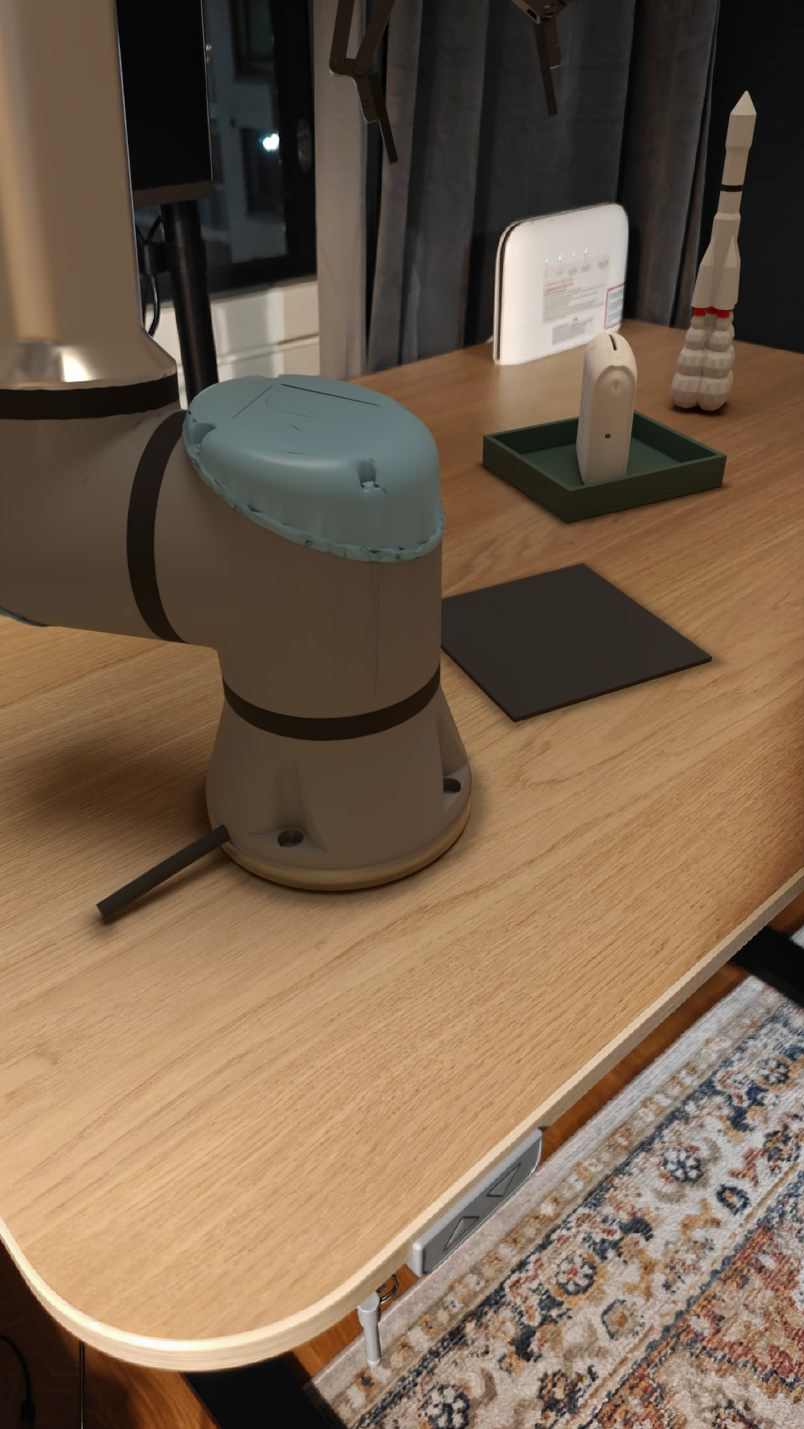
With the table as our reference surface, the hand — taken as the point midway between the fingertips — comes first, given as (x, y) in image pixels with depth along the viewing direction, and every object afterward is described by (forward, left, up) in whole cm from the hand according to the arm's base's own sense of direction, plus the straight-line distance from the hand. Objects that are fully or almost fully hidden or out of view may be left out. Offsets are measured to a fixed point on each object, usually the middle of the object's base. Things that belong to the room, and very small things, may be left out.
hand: (471, 140), depth 86 cm
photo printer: (+9, -10, -28) cm, 31 cm away
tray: (+9, -10, -28) cm, 31 cm away
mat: (-11, -33, -28) cm, 44 cm away
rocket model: (+30, +1, -28) cm, 41 cm away
